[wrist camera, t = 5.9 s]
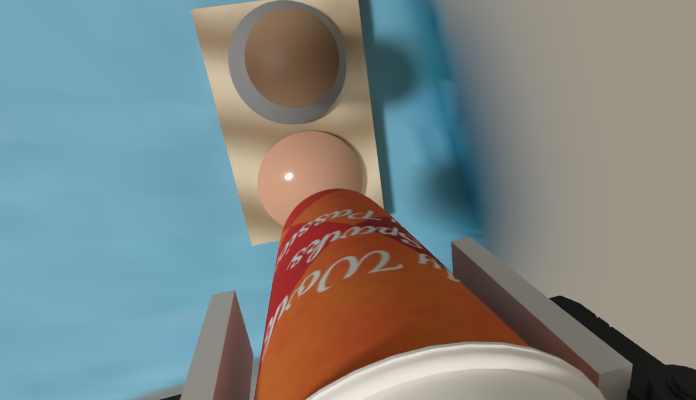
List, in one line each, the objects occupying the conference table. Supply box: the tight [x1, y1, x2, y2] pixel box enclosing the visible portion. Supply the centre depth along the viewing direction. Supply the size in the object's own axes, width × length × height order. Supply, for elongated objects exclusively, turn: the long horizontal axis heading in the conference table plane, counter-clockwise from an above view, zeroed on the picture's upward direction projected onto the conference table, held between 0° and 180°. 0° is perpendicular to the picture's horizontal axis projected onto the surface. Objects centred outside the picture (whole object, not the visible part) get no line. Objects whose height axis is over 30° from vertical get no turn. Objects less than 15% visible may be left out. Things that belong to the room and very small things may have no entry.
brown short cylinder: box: [244, 8, 339, 108], centre depth 22 cm, size 5×5×6 cm
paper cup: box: [254, 189, 606, 400], centre depth 12 cm, size 8×8×14 cm
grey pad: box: [228, 0, 346, 124], centre depth 25 cm, size 8×8×1 cm
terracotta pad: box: [258, 130, 363, 226], centre depth 28 cm, size 8×8×1 cm
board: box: [191, 0, 384, 246], centre depth 27 cm, size 17×11×1 cm, turn 8°
